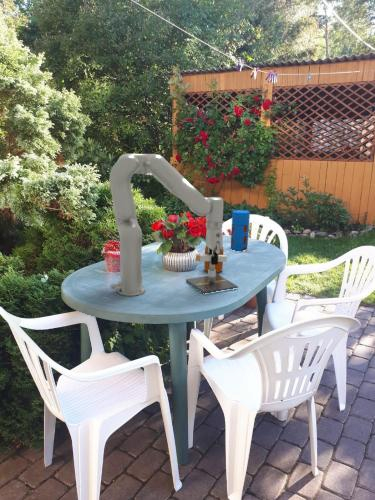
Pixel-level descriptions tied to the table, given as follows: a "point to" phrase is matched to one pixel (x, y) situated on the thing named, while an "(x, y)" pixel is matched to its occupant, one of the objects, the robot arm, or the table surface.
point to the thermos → (240, 230)
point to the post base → (209, 286)
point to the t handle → (208, 258)
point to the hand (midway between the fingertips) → (212, 262)
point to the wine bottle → (217, 266)
